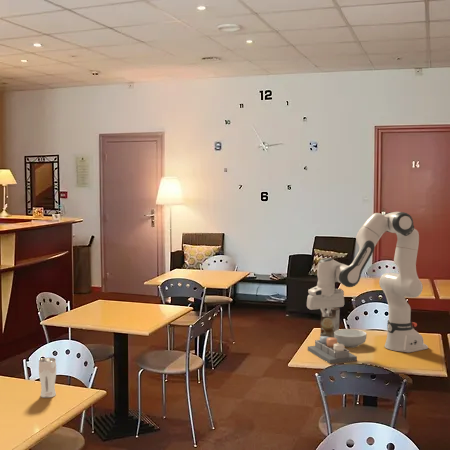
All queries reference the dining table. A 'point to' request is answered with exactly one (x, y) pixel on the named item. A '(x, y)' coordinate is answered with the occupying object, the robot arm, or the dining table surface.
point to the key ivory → (338, 347)
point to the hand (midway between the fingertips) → (325, 316)
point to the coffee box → (330, 322)
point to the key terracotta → (331, 342)
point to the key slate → (323, 339)
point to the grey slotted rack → (331, 353)
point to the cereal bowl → (350, 337)
